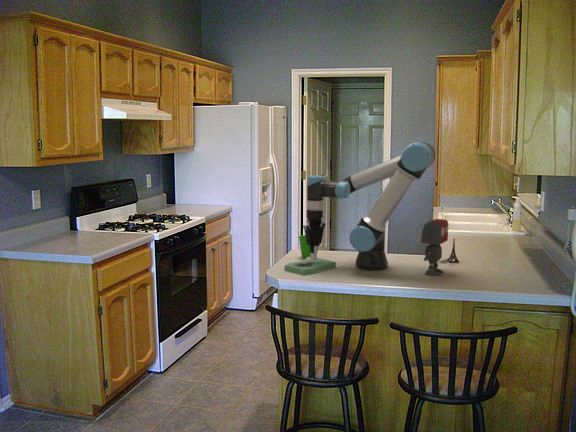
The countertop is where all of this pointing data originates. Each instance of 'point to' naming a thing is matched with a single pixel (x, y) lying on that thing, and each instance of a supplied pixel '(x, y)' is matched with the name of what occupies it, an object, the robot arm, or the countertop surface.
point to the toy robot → (434, 243)
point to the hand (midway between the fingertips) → (313, 259)
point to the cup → (304, 247)
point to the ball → (309, 260)
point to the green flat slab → (309, 266)
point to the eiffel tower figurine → (451, 256)
